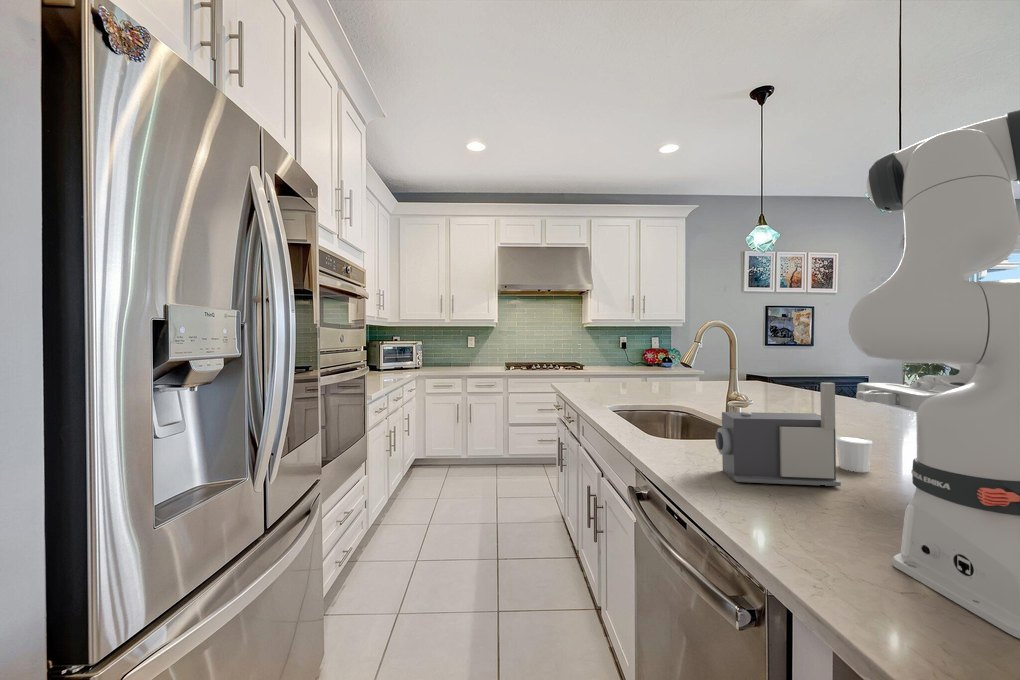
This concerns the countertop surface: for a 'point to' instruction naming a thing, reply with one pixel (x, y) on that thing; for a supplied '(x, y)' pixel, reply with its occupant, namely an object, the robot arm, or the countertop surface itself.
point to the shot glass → (854, 453)
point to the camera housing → (762, 446)
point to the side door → (811, 443)
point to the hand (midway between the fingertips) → (860, 396)
